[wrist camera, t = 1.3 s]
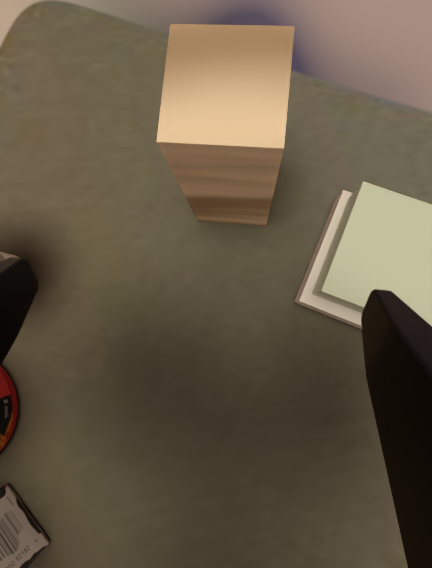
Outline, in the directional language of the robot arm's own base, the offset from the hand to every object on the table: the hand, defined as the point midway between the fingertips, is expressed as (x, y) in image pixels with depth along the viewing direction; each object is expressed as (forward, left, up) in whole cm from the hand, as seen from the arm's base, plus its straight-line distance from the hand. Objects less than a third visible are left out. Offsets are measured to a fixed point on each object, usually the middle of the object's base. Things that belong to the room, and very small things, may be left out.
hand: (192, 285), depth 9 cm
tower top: (+7, -6, -11) cm, 14 cm away
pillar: (+7, +4, -13) cm, 15 cm away
